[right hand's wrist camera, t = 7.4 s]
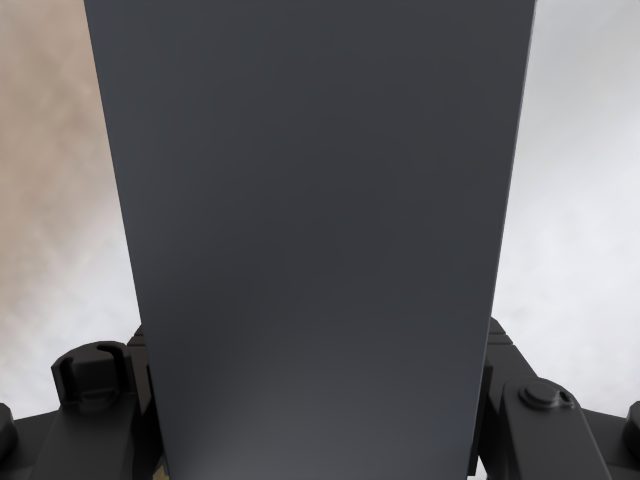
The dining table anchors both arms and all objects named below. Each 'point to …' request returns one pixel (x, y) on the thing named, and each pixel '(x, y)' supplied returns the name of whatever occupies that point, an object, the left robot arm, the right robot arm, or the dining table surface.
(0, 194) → the dining table surface
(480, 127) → the beam
